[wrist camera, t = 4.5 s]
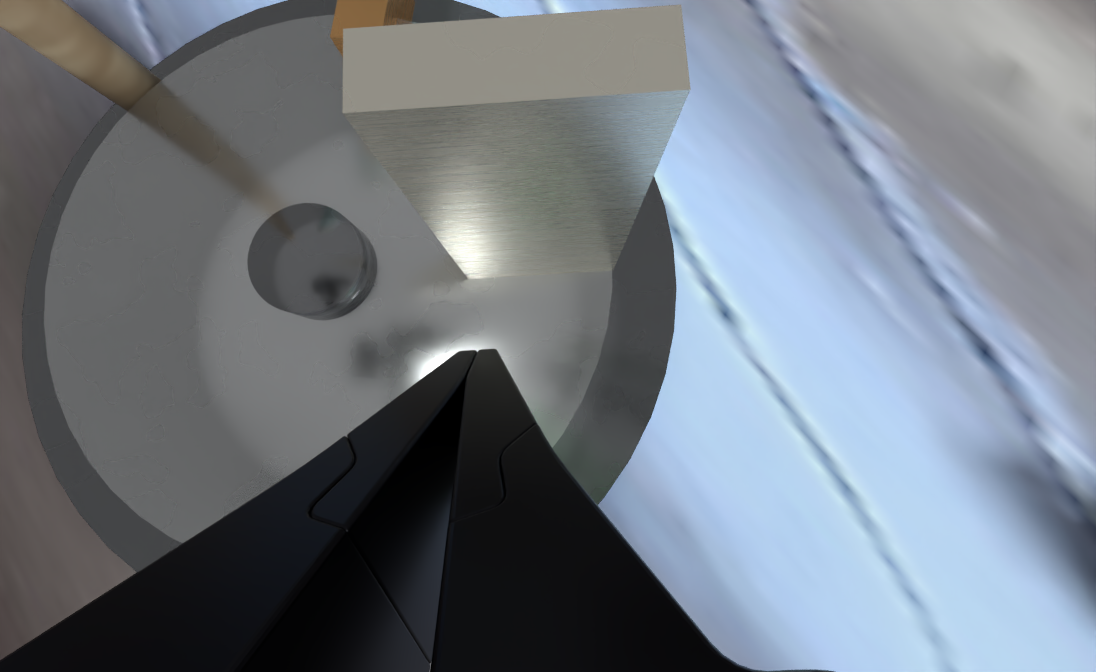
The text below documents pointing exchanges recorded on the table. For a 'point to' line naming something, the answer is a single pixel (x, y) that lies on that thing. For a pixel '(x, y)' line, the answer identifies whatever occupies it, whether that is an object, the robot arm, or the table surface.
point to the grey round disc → (584, 448)
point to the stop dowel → (78, 48)
